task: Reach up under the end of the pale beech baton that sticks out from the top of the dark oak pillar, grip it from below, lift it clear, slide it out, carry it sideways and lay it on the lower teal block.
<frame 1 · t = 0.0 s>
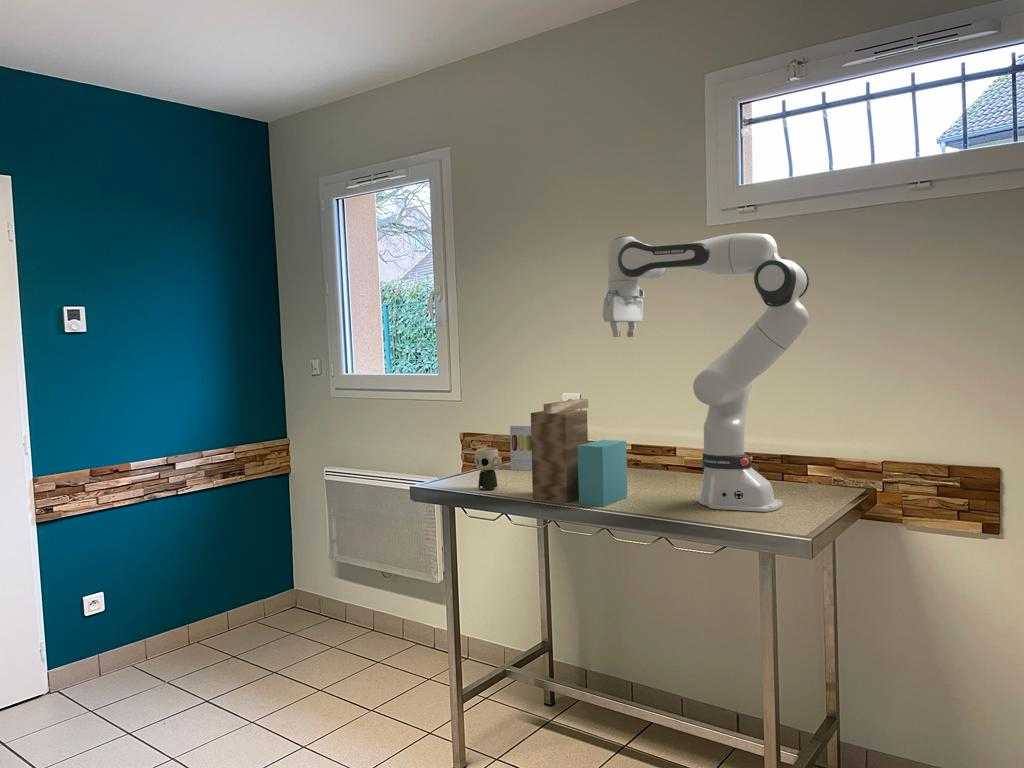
hand: (623, 337, 235), 48 cm above the table, tool pointing down, fingers open, 8 cm apart
supplement box: (525, 469, 293), on the table
teal rectangular block: (603, 500, 228), on the table
pillar: (561, 497, 235), on the table
character mug: (488, 489, 252), on the table
baton: (566, 410, 238), point 26 cm above the table, touching pillar
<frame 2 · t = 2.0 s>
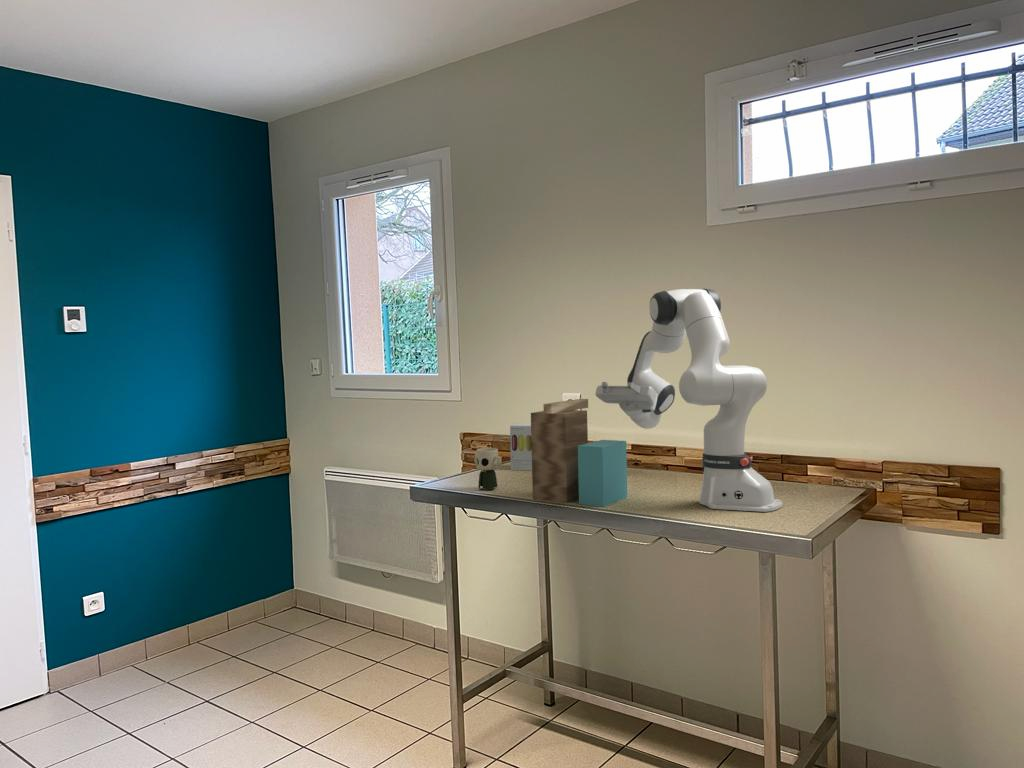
hand: (616, 384, 252), 33 cm above the table, tool pointing upward, fingers open, 8 cm apart
nothing on the table moved.
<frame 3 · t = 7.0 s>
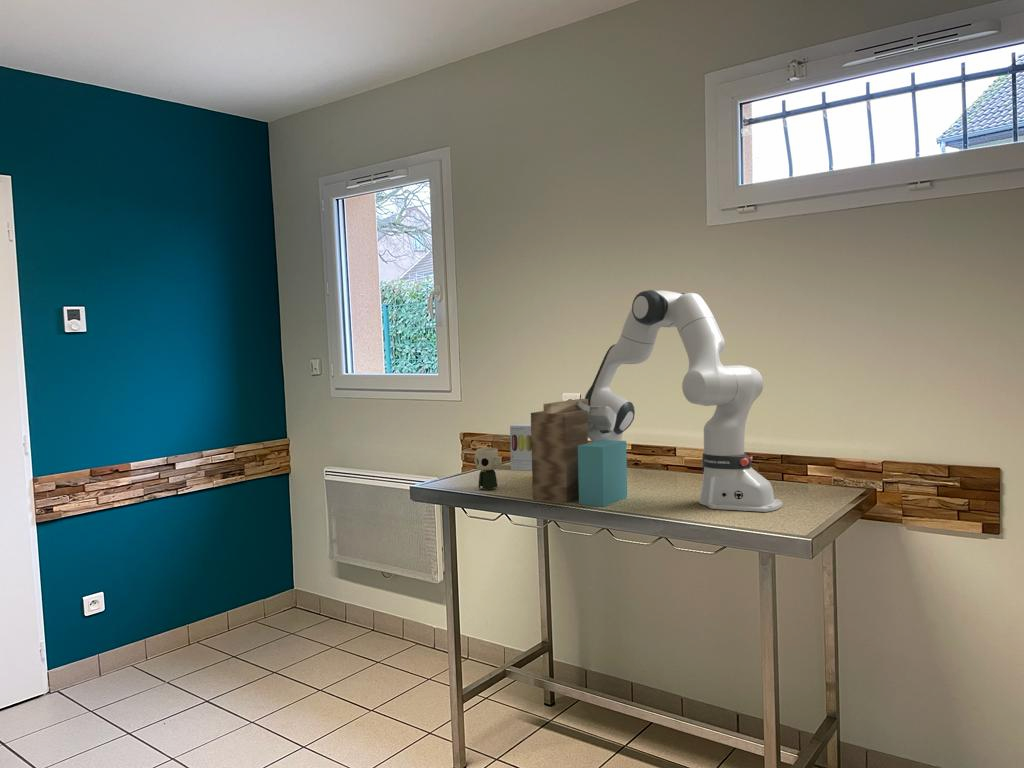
hand: (572, 403, 240), 28 cm above the table, tool pointing upward, fingers closed on baton, 3 cm apart
baton: (566, 410, 238), point 26 cm above the table, touching gripper, pillar
everything else where it was.
when the fingers open (21 cm above the table, at t = 17.9 s): baton drops 3 cm, resting on teal rectangular block.
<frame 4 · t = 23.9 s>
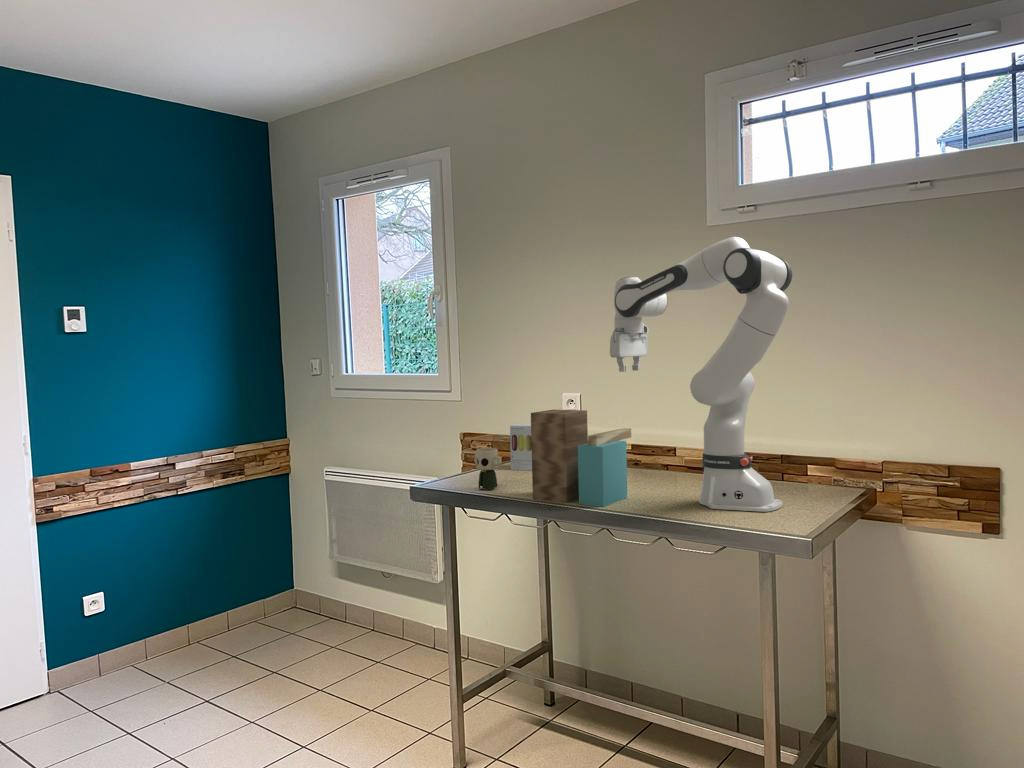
hand: (629, 371, 250), 37 cm above the table, tool pointing down, fingers open, 8 cm apart
baton: (610, 441, 231), point 17 cm above the table, touching teal rectangular block
everything else where it was.
at the end: baton inside the target area (1.6 cm from its centre), point 17.0 cm above the table; baton touching teal rectangular block; the gripper is holding nothing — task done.
